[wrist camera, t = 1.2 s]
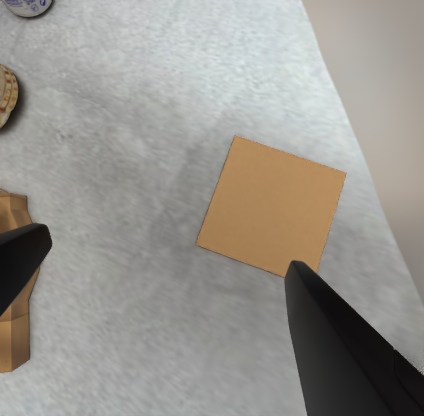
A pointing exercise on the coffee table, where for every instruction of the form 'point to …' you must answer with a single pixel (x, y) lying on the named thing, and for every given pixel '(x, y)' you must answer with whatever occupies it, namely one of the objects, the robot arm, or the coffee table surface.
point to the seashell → (7, 93)
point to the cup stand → (18, 311)
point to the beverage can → (27, 6)
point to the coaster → (271, 208)
